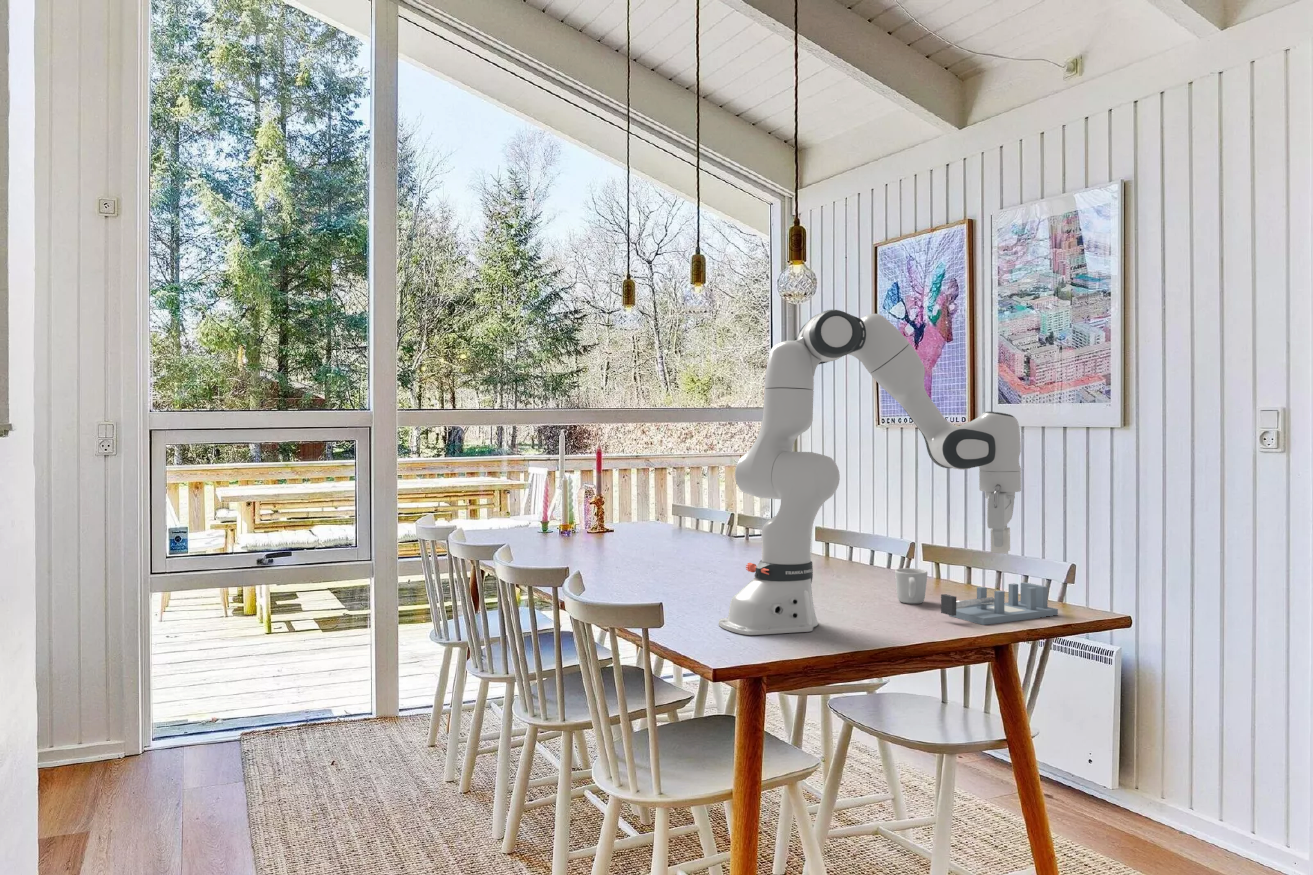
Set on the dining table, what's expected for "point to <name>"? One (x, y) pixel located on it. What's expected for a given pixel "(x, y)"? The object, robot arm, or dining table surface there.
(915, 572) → the cup
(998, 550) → the bracket
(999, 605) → the block
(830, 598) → the dining table surface
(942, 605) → the shaft
